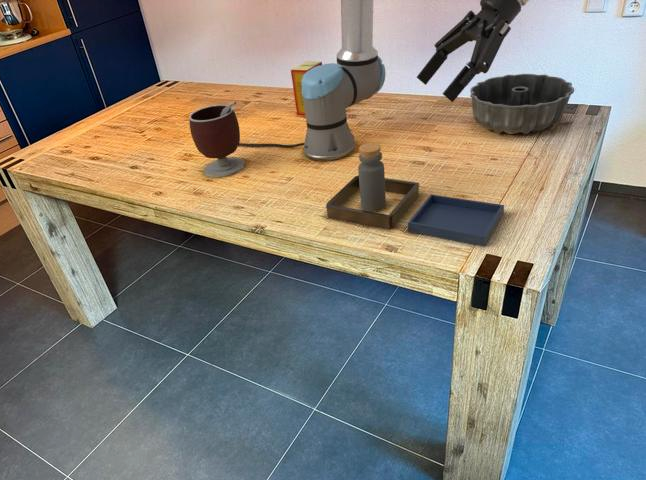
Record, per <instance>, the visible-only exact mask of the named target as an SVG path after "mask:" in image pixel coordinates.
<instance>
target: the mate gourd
mask: <svg viewBox="0 0 646 480" xmlns="http://www.w3.org/2000/svg"><path fill="white" fill-rule="evenodd" d="M235 105H237V101H232V102H231V103H229V104H213V105H209V106H204V107H201V108H199V109H197V110H194V111H193V112H191V113H190V114H189V115H188V119H189V131H190V134H191V138H192V141H193V142H194V146H195V147H196V150H197V151H198V152H199V153H200V154H201V155H202V156H203V157H205V158H208V159H216V160H213V161H212V162H209V163H208V164H206V165H205V167H204V169H203V173H204V174H205V176H207V177H210V178H223V177H228V176H232V175H235V174H236V173H238V172H240V171H242V170H243V169H244V167H245V162H244V159H242V158H239V157H236V156H235V157H234V156H233V157H228V156H230V155H232V154H234V153H235V152H236V151H237V149H238V147H239V146H240V145H239V143H241V129H240V125H239V121H238V117H237V115H236V112H235V110H234V107H233V106H235Z"/></svg>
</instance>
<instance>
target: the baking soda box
mask: <svg viewBox="0 0 646 480" xmlns="http://www.w3.org/2000/svg"><path fill="white" fill-rule="evenodd" d="M322 65H323V62H322V61H304V62H303V63H301V64H299V65H297V66H296V67H294V68H292V69H290V74H291V82H292V89H293V96H294V103H295V110H296V115H297V116H302V117H303V116H304V117H306V116H305V108H304V102H303V96H302V77H303V76H304V74H305V73H306V72H307V71H309V70H310V69H312V68H314V67H317V66H322Z"/></svg>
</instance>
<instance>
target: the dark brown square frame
mask: <svg viewBox="0 0 646 480" xmlns="http://www.w3.org/2000/svg"><path fill="white" fill-rule="evenodd" d="M358 190H360V186H359V174H358V175H355V176H354V177H353V178H351V180H350V181H348V182H347V184H345V185H344V186H343V187H342V188H341V189H340V190H339V191H338V192H337V193H336V194H335V195H334V196H332V198H330V199H329V200H328V201H327V202H326V205H325V209H326V215H327V219H333V220H338V221H343V222H348V223H354V224H359V225H362V226H363V225H364V226H369V227H373V228H380V229H384V230H391V229H394V227H395V226H396V225H397V224H398V222H400V220H401V219H402V218H403V216H404V215H405V214H406V213H407V211H409V209H410V208H412V206H413V205H414V203H415V202H416V201H417V200H418V199H419V196H420V182H417V181H411V180H410V181H409V180H401V179H395V178H389V177H385V193H394V194H399V195H404V197H403V198H402V199H401V200H400V201H399V203H397V205H396V206H395V207H394V208H392V211H390V213H388V214H385V213H381V212H370V211H364V210H363V209H359V208H358V209H357V208H352V207H346V206H343V205H344V204H345V203H346V202H347V201H348V200H349V199H350V198H351V197H352V196H353V195H354V194H355V193H356V192H357V191H358Z"/></svg>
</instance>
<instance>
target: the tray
mask: <svg viewBox="0 0 646 480" xmlns="http://www.w3.org/2000/svg"><path fill="white" fill-rule="evenodd" d="M504 210H505V204H499V203H492V202H487V201H479V200H474V199H472V200H471V199H466V198H459V197H452V196H446V195H438V194H433V193H431V194H430V195H429V196H428V197H427V198H426V199H425V201H424V202H423V203H422V204H421V206H420V207H419V208H418V209H417V211H415V213H414V214H413V216H411V218H410V219H409V220H408V222H407V232H409V233H413V234H419V235H425V236H429V237H433V238H434V237H435V238H440V239H444V240H450V241H455V242H461V243H466V244H471V245H477V246H481V247H485V246H486V245H487V243H488V241H489V240H490V238H491V236H492V234H493V233H494V231H495V229H496V228H497V226H498V224H499V222H500V221H501V219H502V217H503V216H504Z"/></svg>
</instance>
